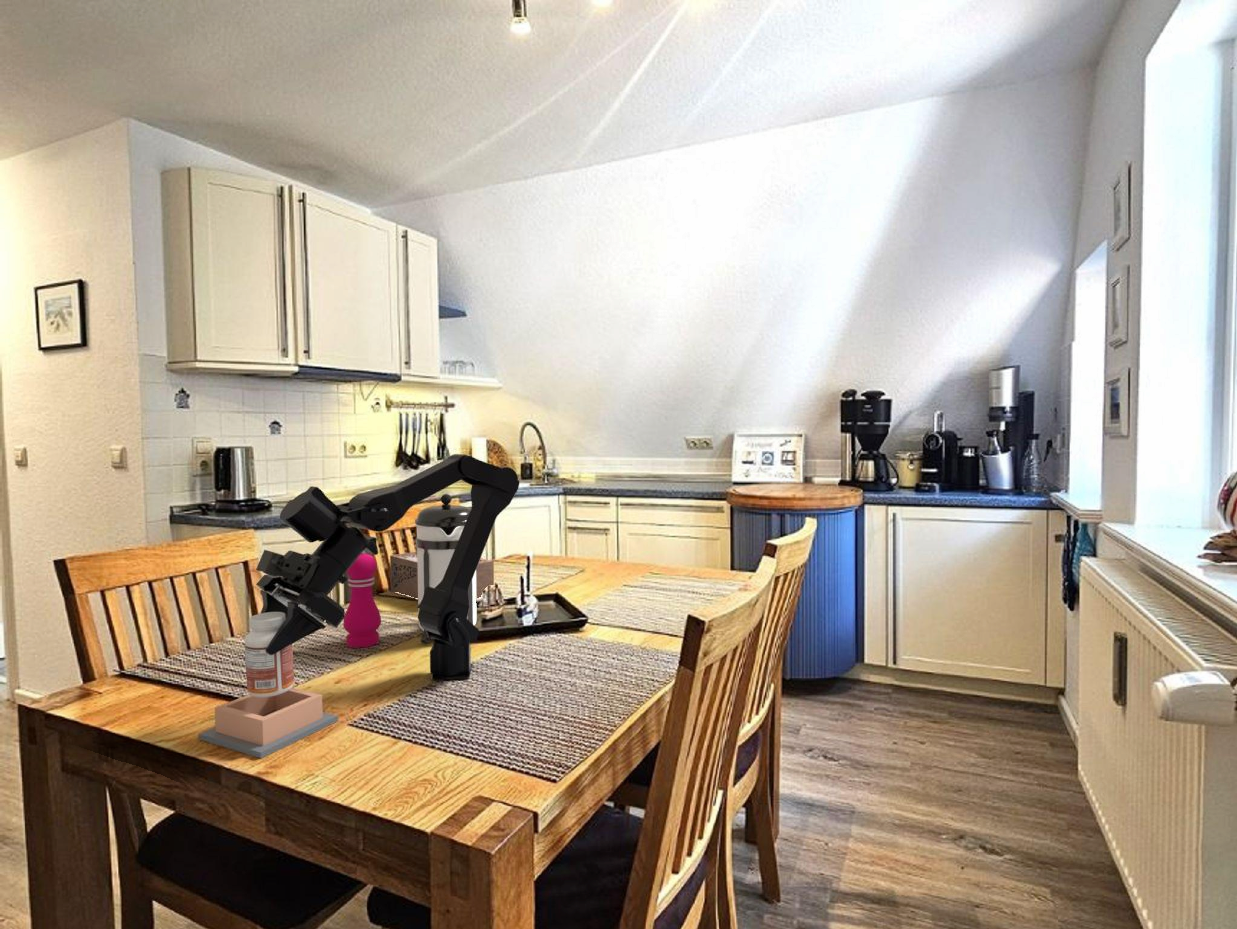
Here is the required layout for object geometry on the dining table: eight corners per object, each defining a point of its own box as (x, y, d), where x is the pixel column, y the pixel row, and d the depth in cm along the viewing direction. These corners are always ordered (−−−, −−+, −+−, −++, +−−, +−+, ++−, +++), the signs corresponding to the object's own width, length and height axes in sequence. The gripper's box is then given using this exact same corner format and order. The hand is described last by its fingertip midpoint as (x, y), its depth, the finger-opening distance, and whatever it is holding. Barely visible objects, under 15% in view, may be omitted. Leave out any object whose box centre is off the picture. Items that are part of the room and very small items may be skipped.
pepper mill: (369, 649, 138) (367, 549, 137) (336, 647, 139) (334, 548, 138) (388, 638, 145) (386, 543, 144) (356, 636, 146) (354, 542, 145)
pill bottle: (282, 679, 106) (279, 607, 106) (302, 688, 102) (299, 614, 102) (239, 691, 101) (236, 616, 101) (258, 702, 98) (255, 624, 97)
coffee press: (501, 630, 151) (500, 492, 150) (446, 650, 138) (444, 499, 136) (444, 617, 161) (443, 488, 159) (388, 635, 147) (385, 494, 145)
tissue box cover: (390, 592, 185) (390, 555, 185) (437, 583, 196) (437, 548, 195) (445, 610, 168) (444, 569, 167) (494, 599, 178) (493, 560, 178)
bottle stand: (338, 721, 105) (337, 693, 105) (261, 758, 93) (260, 727, 93) (278, 705, 111) (277, 679, 110) (198, 739, 99) (197, 709, 99)
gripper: (267, 522, 110) (191, 606, 102) (320, 535, 97) (238, 632, 90) (319, 564, 116) (251, 645, 109) (375, 581, 103) (302, 674, 96)
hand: (259, 648), depth 100 cm, fingers closed on pill bottle, 6 cm apart
